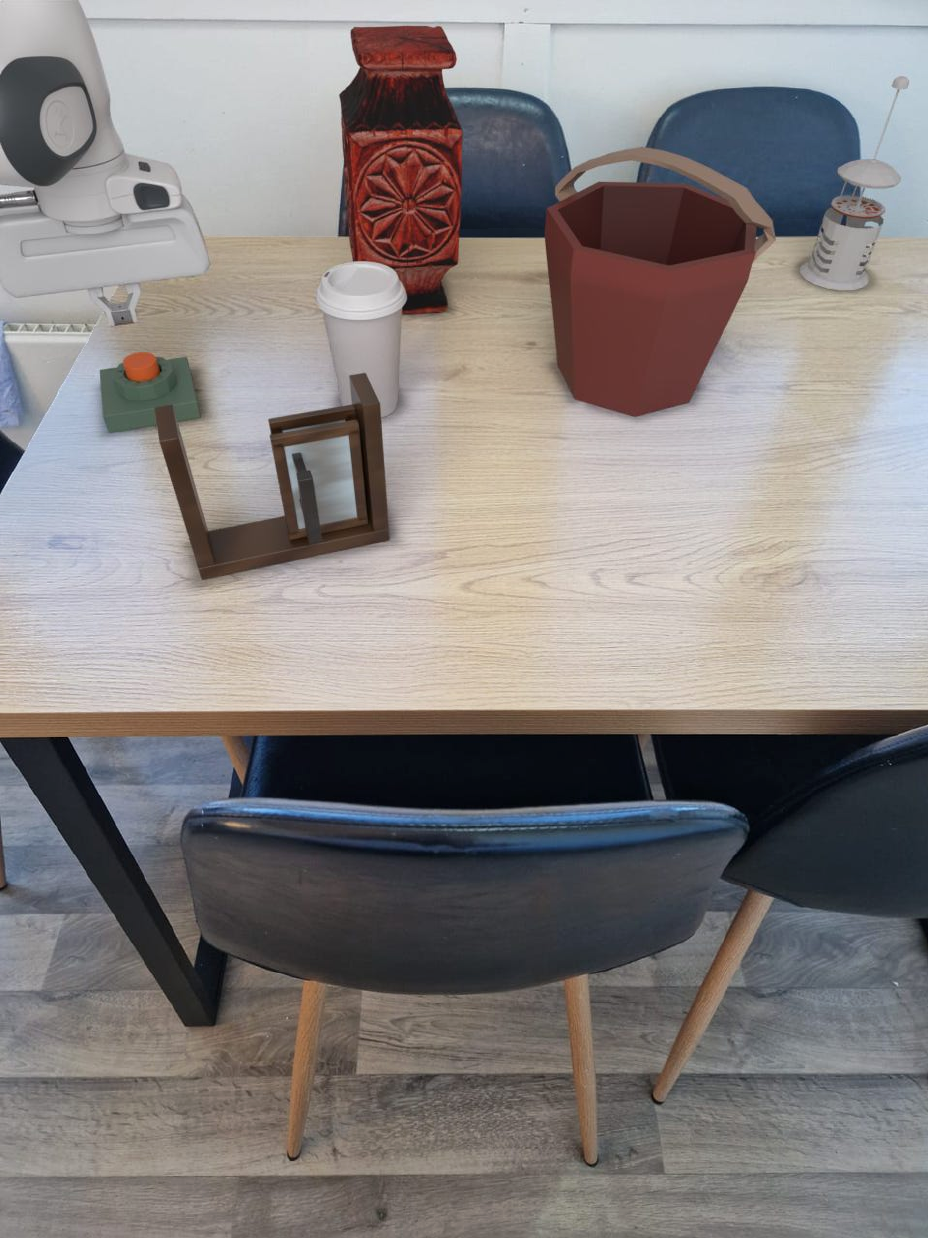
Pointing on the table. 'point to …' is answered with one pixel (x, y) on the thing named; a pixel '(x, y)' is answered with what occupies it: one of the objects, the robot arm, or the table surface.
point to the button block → (147, 395)
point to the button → (141, 366)
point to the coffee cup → (364, 326)
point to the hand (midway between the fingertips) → (124, 322)
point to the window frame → (270, 536)
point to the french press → (852, 223)
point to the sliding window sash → (320, 479)
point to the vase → (403, 159)
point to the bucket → (647, 279)
